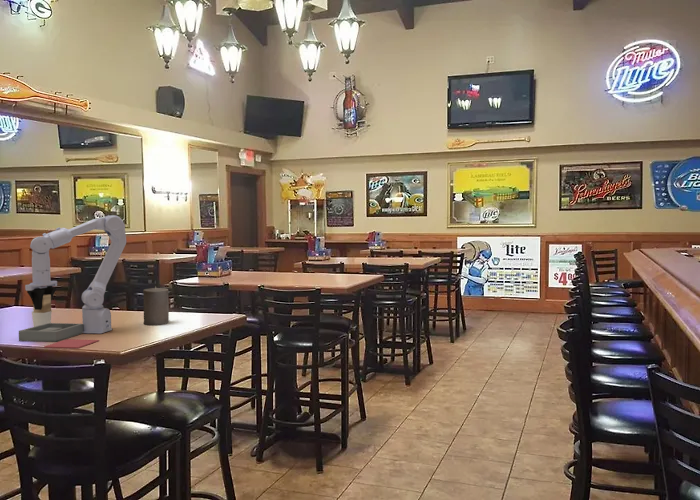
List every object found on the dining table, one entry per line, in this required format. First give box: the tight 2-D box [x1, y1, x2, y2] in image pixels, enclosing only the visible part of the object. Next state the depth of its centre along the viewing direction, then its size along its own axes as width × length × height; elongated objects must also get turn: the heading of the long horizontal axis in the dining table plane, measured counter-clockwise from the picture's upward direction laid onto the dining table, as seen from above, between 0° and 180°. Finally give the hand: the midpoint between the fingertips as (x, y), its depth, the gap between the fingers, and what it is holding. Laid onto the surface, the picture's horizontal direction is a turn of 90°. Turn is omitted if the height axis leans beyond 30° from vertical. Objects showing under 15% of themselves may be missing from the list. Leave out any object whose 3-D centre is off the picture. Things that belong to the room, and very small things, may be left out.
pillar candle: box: [142, 285, 170, 326], centre depth 240 cm, size 10×10×15 cm
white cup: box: [31, 309, 53, 327], centre depth 229 cm, size 7×7×7 cm
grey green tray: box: [18, 322, 84, 343], centre depth 213 cm, size 14×16×4 cm
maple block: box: [32, 294, 52, 313], centre depth 213 cm, size 4×4×6 cm
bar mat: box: [43, 338, 100, 349], centre depth 200 cm, size 12×12×1 cm
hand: (42, 308), depth 213 cm, fingers closed on maple block, 4 cm apart
